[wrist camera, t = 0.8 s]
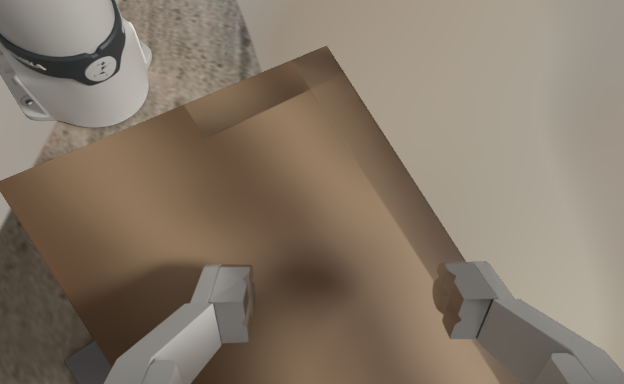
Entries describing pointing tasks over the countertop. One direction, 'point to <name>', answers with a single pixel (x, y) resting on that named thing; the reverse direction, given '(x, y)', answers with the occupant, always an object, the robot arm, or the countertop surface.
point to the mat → (89, 365)
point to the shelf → (258, 234)
